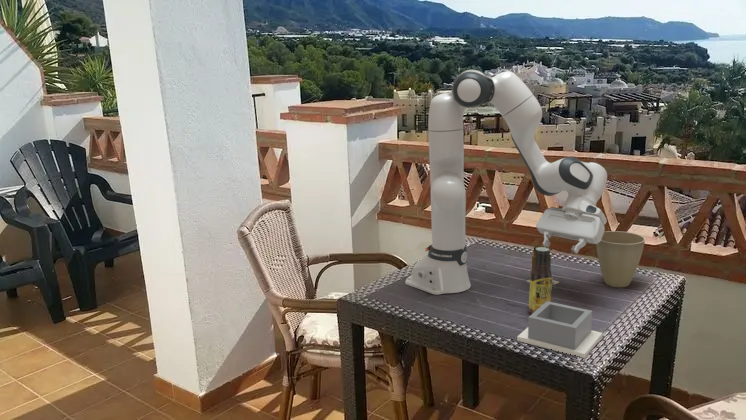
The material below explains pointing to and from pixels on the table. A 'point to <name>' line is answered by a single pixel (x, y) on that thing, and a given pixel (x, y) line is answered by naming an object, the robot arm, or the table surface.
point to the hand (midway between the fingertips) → (559, 249)
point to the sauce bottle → (540, 280)
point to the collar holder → (561, 329)
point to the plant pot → (619, 256)
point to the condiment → (534, 263)
